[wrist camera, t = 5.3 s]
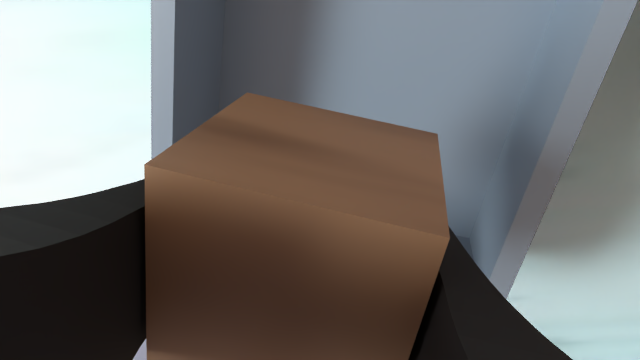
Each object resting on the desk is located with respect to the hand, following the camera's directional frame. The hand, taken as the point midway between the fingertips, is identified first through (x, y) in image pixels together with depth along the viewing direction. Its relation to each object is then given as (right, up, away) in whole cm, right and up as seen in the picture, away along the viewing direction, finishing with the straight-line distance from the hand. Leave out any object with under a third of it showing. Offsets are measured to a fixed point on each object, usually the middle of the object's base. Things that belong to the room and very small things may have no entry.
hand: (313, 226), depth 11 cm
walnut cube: (0, +1, +1) cm, 2 cm away
